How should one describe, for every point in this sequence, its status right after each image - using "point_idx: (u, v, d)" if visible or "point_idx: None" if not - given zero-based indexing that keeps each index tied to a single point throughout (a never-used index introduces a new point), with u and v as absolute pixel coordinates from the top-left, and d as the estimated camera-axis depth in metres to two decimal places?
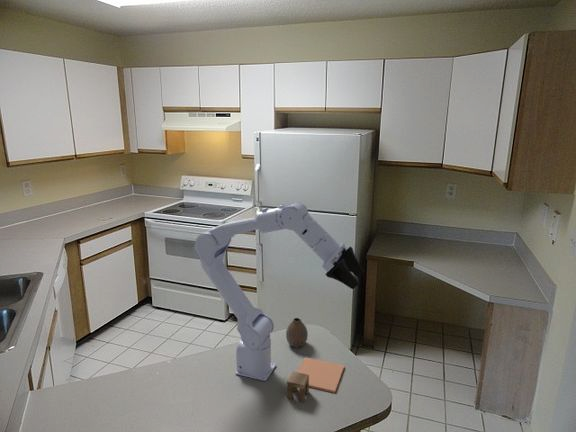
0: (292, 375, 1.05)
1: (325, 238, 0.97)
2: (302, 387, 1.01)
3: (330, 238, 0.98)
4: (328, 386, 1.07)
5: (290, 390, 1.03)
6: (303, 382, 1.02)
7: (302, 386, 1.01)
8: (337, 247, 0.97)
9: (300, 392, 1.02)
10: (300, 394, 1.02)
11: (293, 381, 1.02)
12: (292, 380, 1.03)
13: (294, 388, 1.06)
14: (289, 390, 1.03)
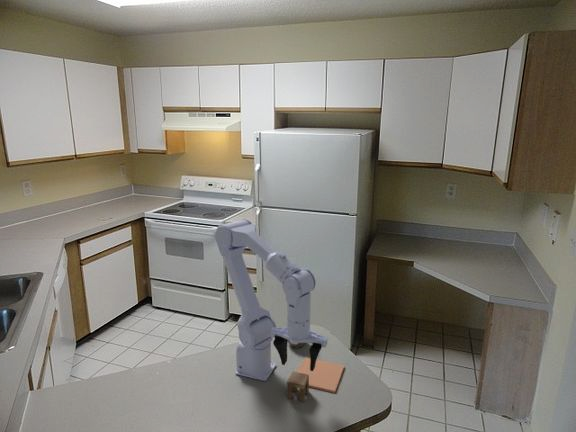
0: (292, 375, 1.05)
1: (289, 322, 0.98)
2: (302, 387, 1.01)
3: (293, 327, 0.98)
4: (328, 386, 1.07)
5: (290, 390, 1.03)
6: (303, 382, 1.02)
7: (302, 386, 1.01)
8: (291, 336, 0.99)
9: (300, 392, 1.02)
10: (300, 394, 1.02)
11: (293, 381, 1.02)
12: (292, 380, 1.03)
13: (294, 388, 1.06)
14: (289, 390, 1.03)
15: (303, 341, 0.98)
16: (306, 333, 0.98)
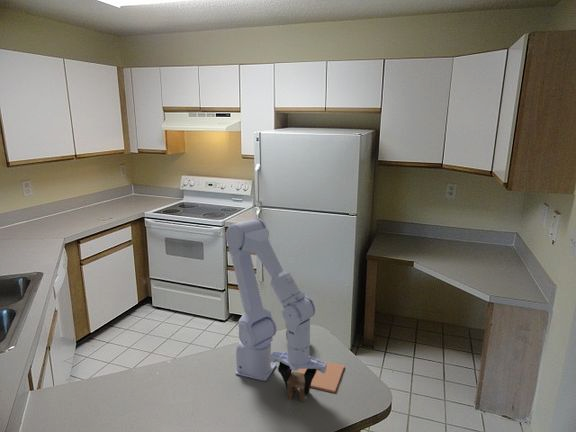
0: (292, 375, 1.05)
1: (289, 348, 1.00)
2: (302, 387, 1.01)
3: (293, 353, 0.99)
4: (328, 386, 1.07)
5: (290, 390, 1.03)
6: (303, 382, 1.02)
7: (302, 386, 1.01)
8: (290, 362, 1.00)
9: (300, 392, 1.02)
10: (300, 394, 1.02)
11: (293, 381, 1.02)
12: (292, 380, 1.03)
13: (294, 388, 1.06)
14: (289, 390, 1.03)
15: (303, 367, 1.00)
16: (306, 358, 1.00)
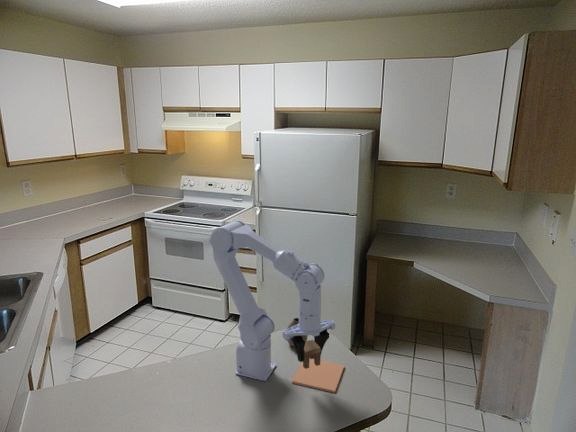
0: None
1: (308, 317, 1.01)
2: (319, 350, 1.05)
3: (312, 320, 1.01)
4: (328, 386, 1.07)
5: (308, 359, 1.04)
6: (317, 346, 1.06)
7: (319, 349, 1.05)
8: (310, 330, 1.02)
9: (317, 356, 1.05)
10: (317, 358, 1.05)
11: (309, 349, 1.04)
12: (308, 349, 1.04)
13: None
14: (307, 359, 1.04)
15: (320, 330, 1.03)
16: None
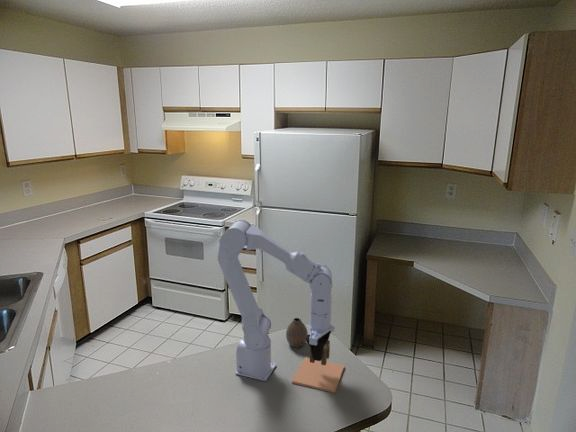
0: None
1: (327, 316, 1.06)
2: (329, 343, 1.12)
3: (329, 317, 1.07)
4: (328, 386, 1.07)
5: (326, 355, 1.09)
6: None
7: (329, 342, 1.12)
8: (328, 327, 1.08)
9: (328, 349, 1.12)
10: (328, 351, 1.12)
11: (325, 345, 1.10)
12: (324, 346, 1.09)
13: None
14: (326, 356, 1.09)
15: None
16: None
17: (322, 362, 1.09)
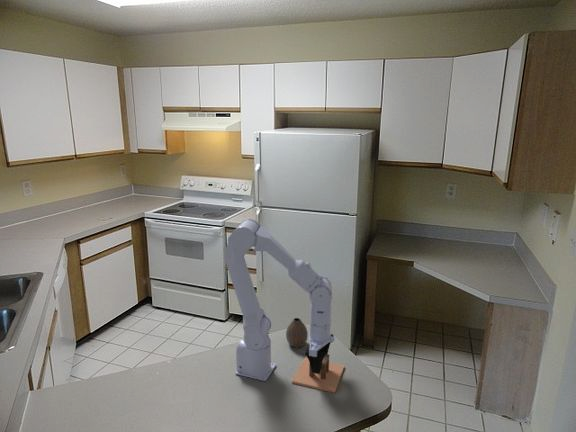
0: None
1: (326, 327, 1.07)
2: (328, 357, 1.13)
3: (329, 328, 1.08)
4: (328, 386, 1.07)
5: (325, 369, 1.10)
6: None
7: None
8: (328, 338, 1.08)
9: (328, 363, 1.13)
10: (328, 365, 1.13)
11: (324, 360, 1.11)
12: (323, 360, 1.10)
13: None
14: (325, 370, 1.10)
15: (330, 335, 1.11)
16: None
17: (322, 376, 1.10)
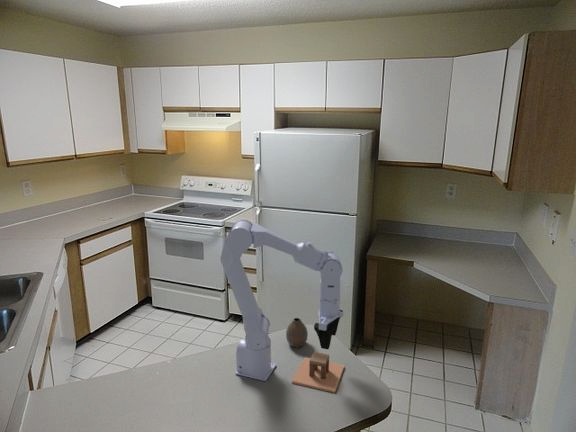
0: (315, 360, 1.10)
1: (336, 302, 1.07)
2: (328, 357, 1.13)
3: (338, 303, 1.09)
4: (328, 386, 1.07)
5: (325, 369, 1.10)
6: (325, 354, 1.13)
7: None
8: (337, 313, 1.09)
9: (328, 363, 1.13)
10: (328, 365, 1.13)
11: (324, 360, 1.11)
12: (323, 360, 1.10)
13: (314, 372, 1.12)
14: (325, 370, 1.10)
15: None
16: None
17: (322, 376, 1.10)
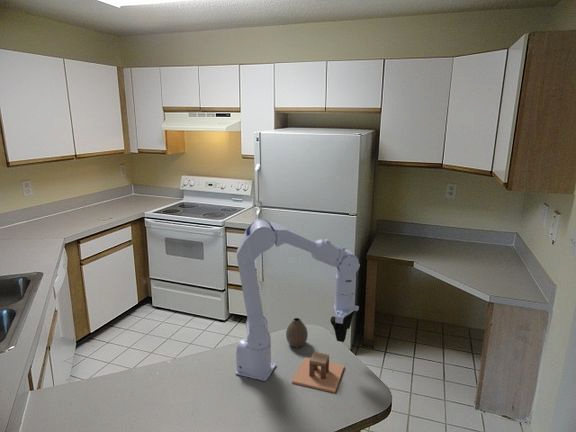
0: (315, 360, 1.10)
1: (352, 296, 1.11)
2: (328, 357, 1.13)
3: (354, 297, 1.12)
4: (328, 386, 1.07)
5: (325, 369, 1.10)
6: (325, 354, 1.13)
7: None
8: (353, 307, 1.13)
9: (328, 363, 1.13)
10: (328, 365, 1.13)
11: (324, 360, 1.11)
12: (323, 360, 1.10)
13: (314, 372, 1.12)
14: (325, 370, 1.10)
15: None
16: None
17: (322, 376, 1.10)
